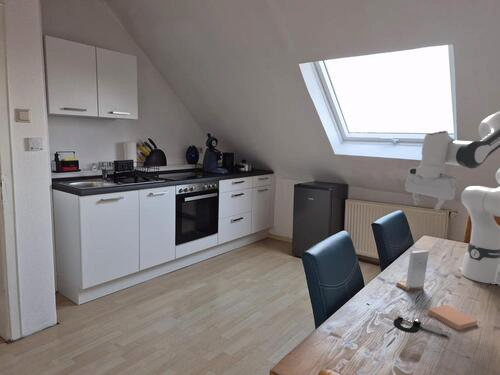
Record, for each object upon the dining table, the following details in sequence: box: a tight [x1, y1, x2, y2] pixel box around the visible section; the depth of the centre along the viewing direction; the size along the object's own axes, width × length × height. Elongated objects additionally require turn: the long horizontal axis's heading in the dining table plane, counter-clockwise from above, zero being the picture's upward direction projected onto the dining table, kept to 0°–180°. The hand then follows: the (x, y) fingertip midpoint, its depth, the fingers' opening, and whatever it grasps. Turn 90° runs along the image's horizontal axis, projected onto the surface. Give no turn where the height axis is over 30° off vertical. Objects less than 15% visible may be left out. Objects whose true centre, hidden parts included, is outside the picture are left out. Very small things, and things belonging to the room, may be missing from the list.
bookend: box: [395, 249, 430, 293], centre depth 143 cm, size 8×6×16 cm
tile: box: [427, 304, 479, 331], centre depth 121 cm, size 9×2×11 cm
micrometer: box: [393, 315, 450, 338], centre depth 112 cm, size 15×7×2 cm, turn 54°
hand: (426, 206), depth 147 cm, fingers open, 8 cm apart
